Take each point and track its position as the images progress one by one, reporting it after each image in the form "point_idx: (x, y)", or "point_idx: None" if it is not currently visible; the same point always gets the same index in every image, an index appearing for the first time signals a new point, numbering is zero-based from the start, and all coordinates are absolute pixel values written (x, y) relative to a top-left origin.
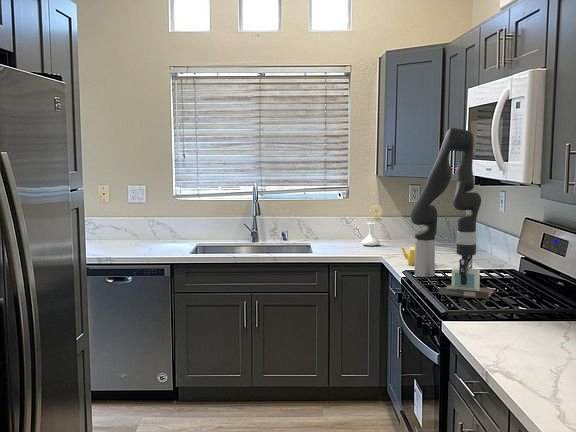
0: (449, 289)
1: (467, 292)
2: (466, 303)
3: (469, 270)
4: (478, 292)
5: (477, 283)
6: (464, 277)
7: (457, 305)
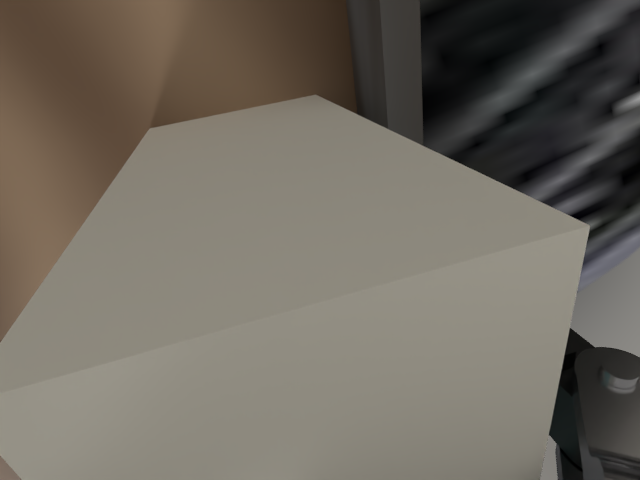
0: None
1: None
2: (480, 131)
3: (499, 471)
4: (415, 53)
5: (376, 125)
6: (579, 344)
7: (565, 168)
